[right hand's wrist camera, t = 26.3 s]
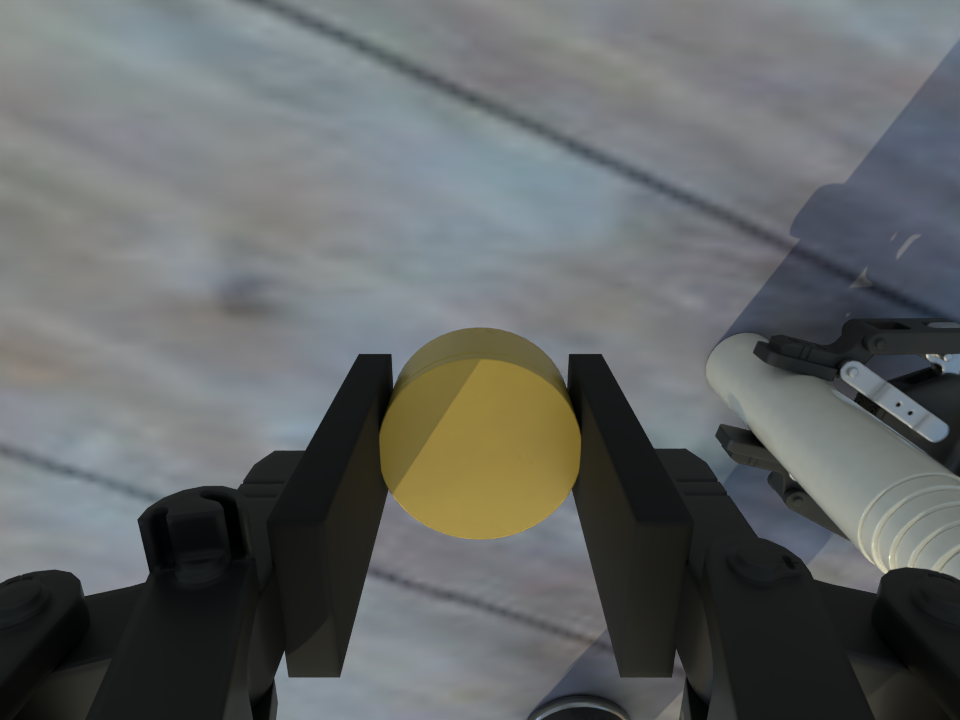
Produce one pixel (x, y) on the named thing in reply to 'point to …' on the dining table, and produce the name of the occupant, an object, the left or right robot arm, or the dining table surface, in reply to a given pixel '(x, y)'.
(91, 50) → the dining table surface
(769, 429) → the bottle
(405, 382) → the cap
